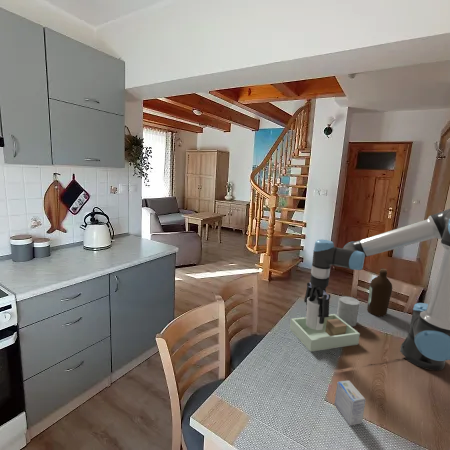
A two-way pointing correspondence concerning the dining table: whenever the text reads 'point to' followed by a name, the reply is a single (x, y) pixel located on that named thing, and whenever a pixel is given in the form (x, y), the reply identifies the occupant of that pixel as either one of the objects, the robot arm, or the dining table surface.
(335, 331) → the walnut block
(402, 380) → the dining table surface
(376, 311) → the olive oil
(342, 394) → the medicine box
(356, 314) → the white can
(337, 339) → the tote
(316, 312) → the cup
